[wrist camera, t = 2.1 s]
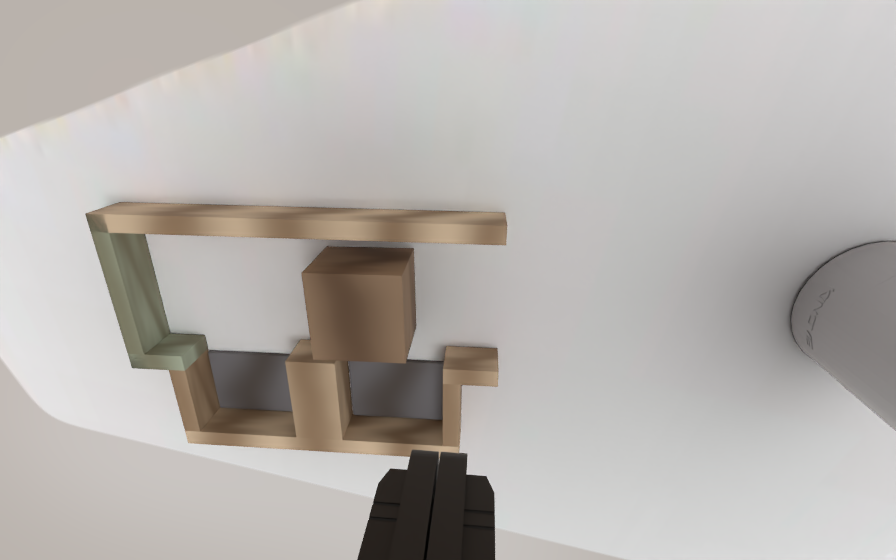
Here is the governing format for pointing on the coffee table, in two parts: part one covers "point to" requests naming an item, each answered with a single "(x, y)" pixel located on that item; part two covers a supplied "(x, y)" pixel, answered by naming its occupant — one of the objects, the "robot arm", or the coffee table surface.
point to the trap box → (297, 375)
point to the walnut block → (361, 304)
